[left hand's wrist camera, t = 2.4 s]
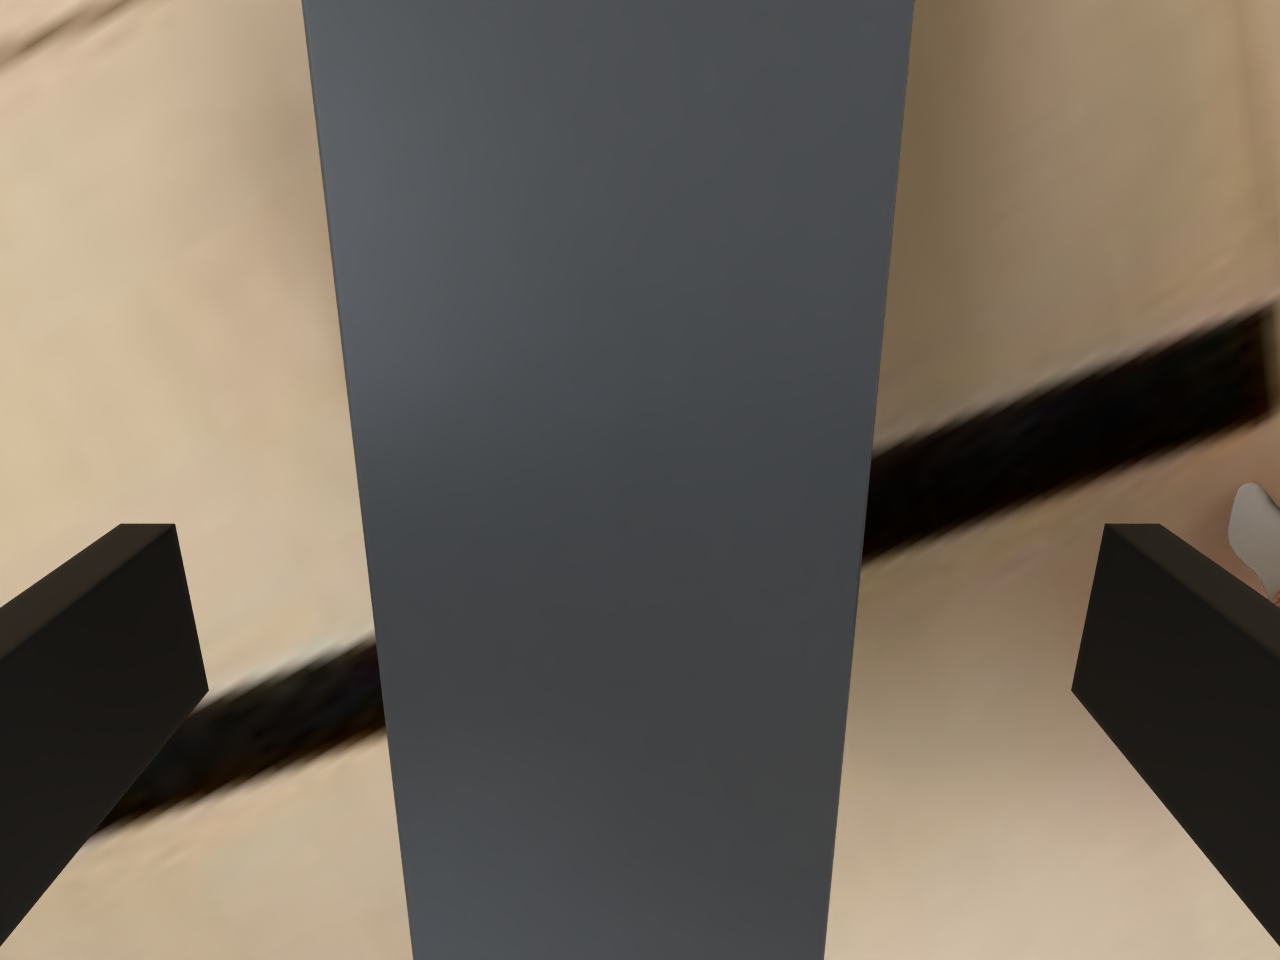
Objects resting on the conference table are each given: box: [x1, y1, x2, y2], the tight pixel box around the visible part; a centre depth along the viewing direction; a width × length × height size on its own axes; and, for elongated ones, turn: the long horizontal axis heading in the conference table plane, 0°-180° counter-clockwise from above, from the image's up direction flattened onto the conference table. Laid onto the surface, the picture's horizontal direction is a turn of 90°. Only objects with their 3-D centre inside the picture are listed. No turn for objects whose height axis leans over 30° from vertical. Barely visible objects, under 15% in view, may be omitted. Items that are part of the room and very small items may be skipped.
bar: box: [302, 0, 914, 960], centre depth 11 cm, size 24×5×10 cm, turn 0°
